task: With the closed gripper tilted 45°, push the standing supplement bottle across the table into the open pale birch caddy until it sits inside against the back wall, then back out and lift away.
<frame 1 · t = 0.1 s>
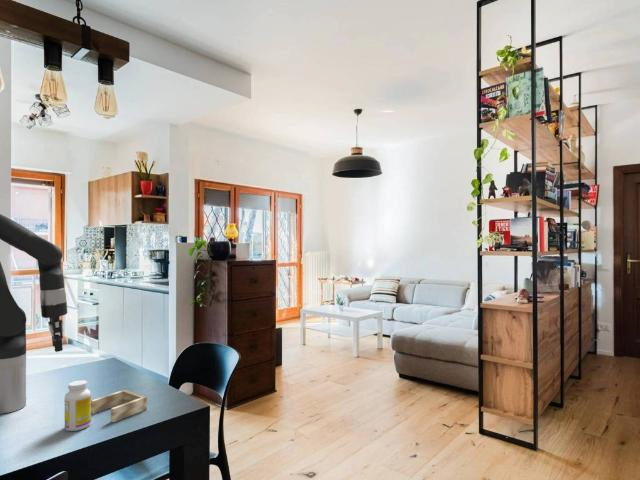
hand: (57, 348, 140), 17 cm above the table, tool pointing down, fingers open, 8 cm apart
birch caddy: (117, 412, 128), on the table
supplement bottle: (77, 427, 118), on the table
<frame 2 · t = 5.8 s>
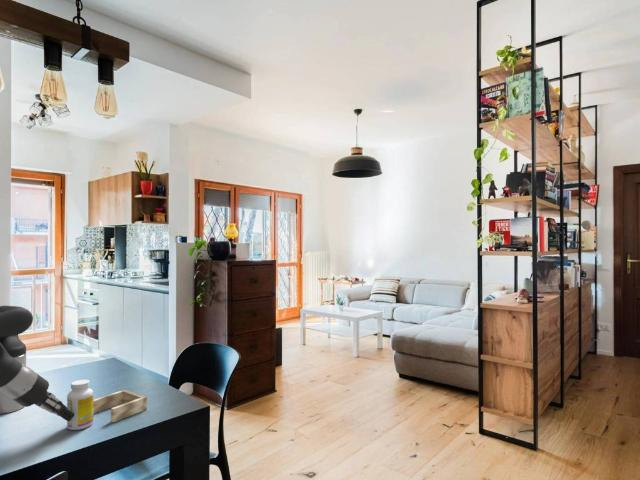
hand: (70, 417, 115), 4 cm above the table, tool tilted 40°, fingers closed
supplement bottle: (80, 426, 119), on the table, touching gripper
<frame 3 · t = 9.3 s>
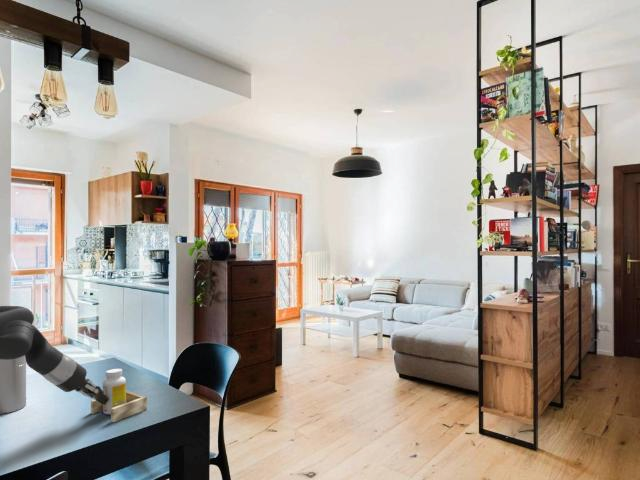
hand: (105, 401, 125), 5 cm above the table, tool tilted 45°, fingers closed
supplement bottle: (114, 411, 129), resting in birch caddy, touching gripper
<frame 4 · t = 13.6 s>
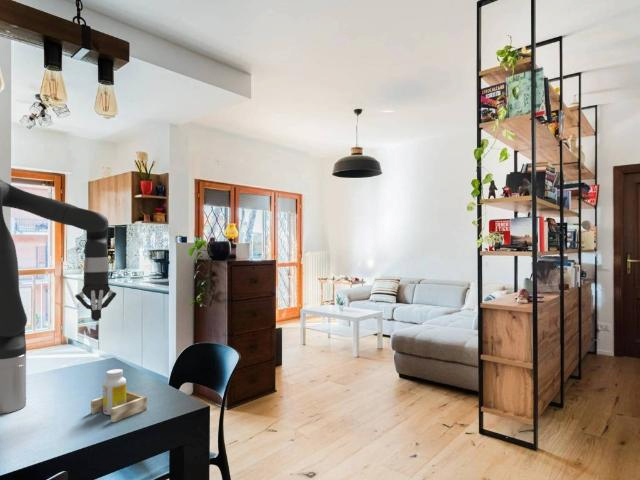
hand: (96, 320, 140), 27 cm above the table, tool pointing down, fingers closed
supplement bottle: (114, 412, 129), resting in birch caddy
at the end: supplement bottle 1.3 cm off-centre on the birch caddy, point 0.0 cm above the birch caddy's base; supplement bottle tilted 0°; supplement bottle moved 11.9 cm from its start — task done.
